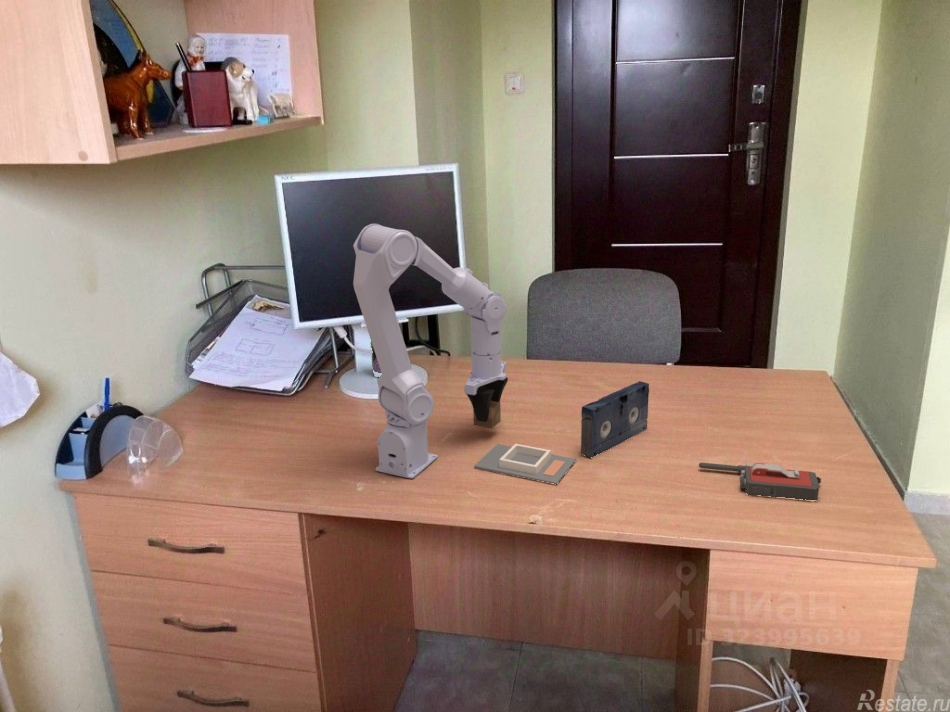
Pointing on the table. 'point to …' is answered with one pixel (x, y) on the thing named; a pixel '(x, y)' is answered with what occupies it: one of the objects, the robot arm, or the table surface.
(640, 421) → the vhs cassette tape
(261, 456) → the table surface
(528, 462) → the pocket board
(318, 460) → the table surface
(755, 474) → the walkie-talkie
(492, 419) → the walnut block
